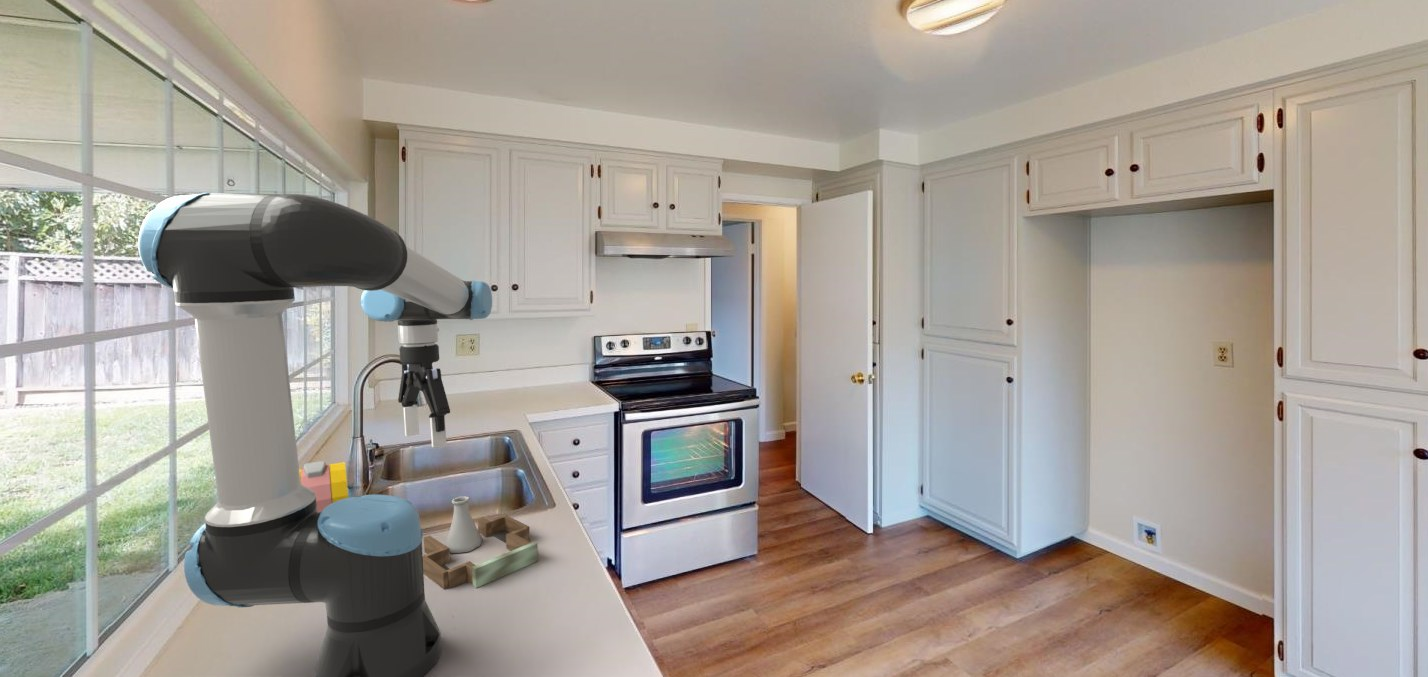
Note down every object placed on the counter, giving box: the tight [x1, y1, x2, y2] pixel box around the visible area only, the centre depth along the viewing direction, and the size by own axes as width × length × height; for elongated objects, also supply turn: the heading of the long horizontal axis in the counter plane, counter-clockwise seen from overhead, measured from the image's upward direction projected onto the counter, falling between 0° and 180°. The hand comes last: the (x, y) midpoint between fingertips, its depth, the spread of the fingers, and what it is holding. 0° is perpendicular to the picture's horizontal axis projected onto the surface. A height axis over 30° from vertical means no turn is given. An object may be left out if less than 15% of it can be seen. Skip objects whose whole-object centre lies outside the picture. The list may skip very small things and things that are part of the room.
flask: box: [444, 495, 483, 554], centre depth 113 cm, size 7×7×10 cm
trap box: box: [423, 514, 539, 590], centre depth 109 cm, size 20×21×4 cm
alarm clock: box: [299, 460, 349, 512], centre depth 111 cm, size 15×8×18 cm, turn 36°
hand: (425, 440), depth 122 cm, fingers open, 13 cm apart
